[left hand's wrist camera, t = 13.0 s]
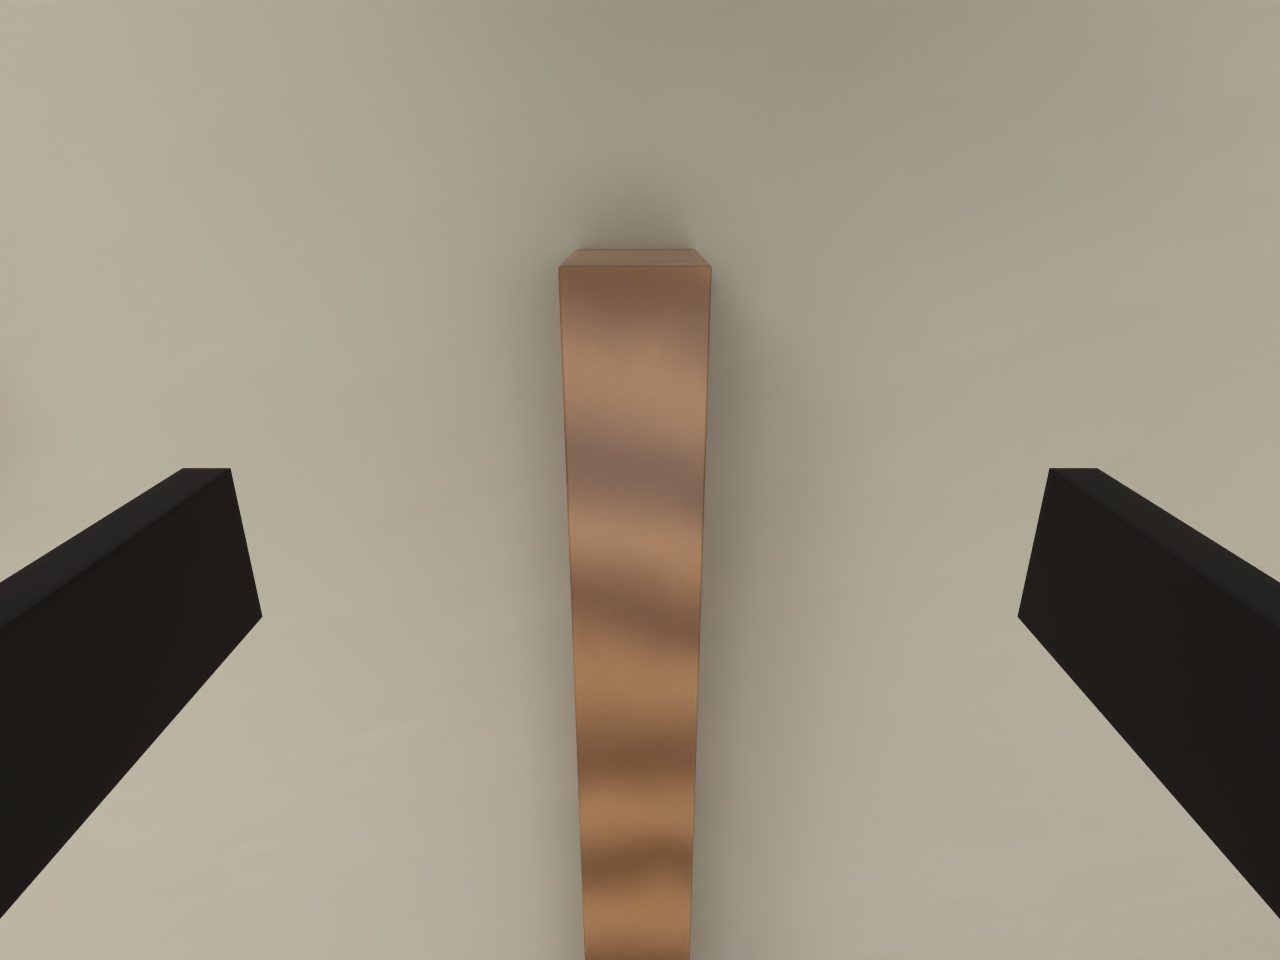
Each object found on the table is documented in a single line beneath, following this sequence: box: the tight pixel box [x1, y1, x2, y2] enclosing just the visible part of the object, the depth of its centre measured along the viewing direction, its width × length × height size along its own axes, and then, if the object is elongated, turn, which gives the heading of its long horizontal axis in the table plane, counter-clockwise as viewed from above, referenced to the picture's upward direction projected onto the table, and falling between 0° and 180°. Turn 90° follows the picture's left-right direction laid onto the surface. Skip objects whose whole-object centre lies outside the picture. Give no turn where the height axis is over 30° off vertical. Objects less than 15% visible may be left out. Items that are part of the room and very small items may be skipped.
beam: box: [558, 250, 712, 960], centre depth 39 cm, size 64×5×8 cm, turn 0°
